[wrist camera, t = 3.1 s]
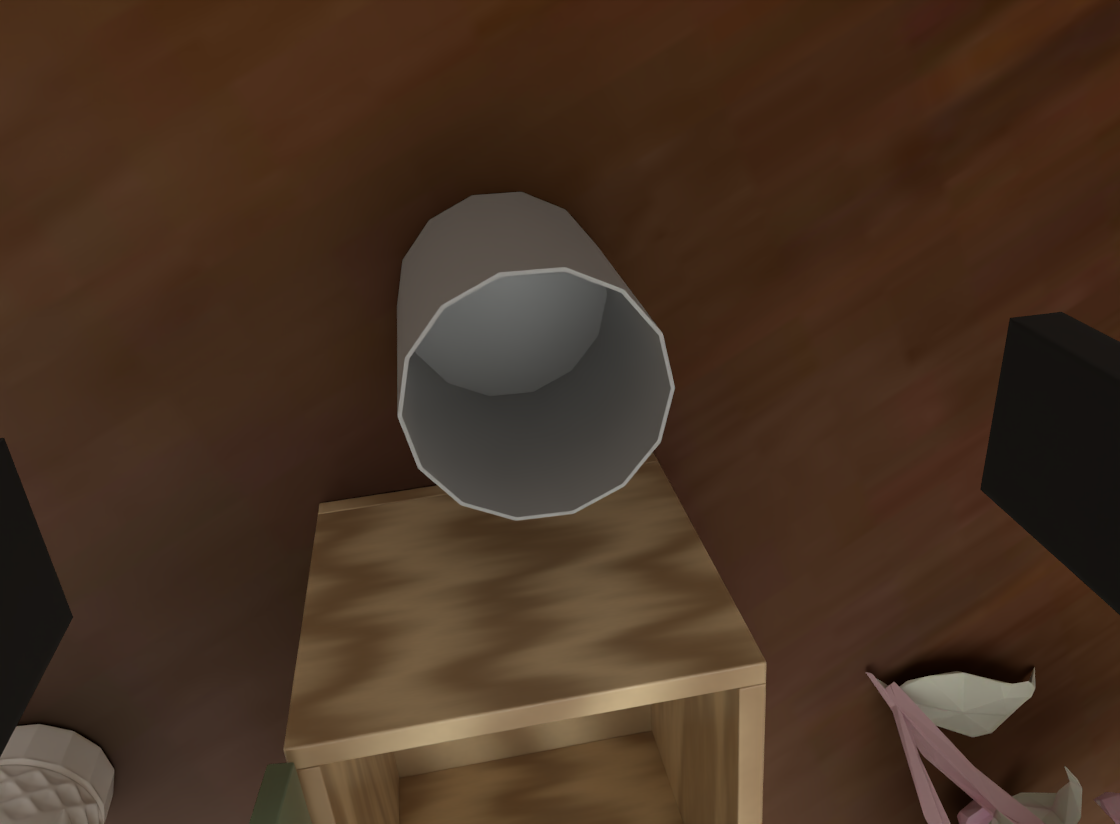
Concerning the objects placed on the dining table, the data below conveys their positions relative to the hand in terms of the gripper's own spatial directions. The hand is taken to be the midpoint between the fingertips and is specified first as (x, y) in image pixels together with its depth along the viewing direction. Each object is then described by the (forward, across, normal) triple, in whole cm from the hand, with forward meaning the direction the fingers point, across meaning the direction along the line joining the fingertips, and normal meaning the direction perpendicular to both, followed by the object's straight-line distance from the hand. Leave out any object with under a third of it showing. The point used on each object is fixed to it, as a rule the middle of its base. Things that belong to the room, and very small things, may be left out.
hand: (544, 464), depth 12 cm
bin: (+24, 0, -22) cm, 33 cm away
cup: (+24, +1, -6) cm, 25 cm away
